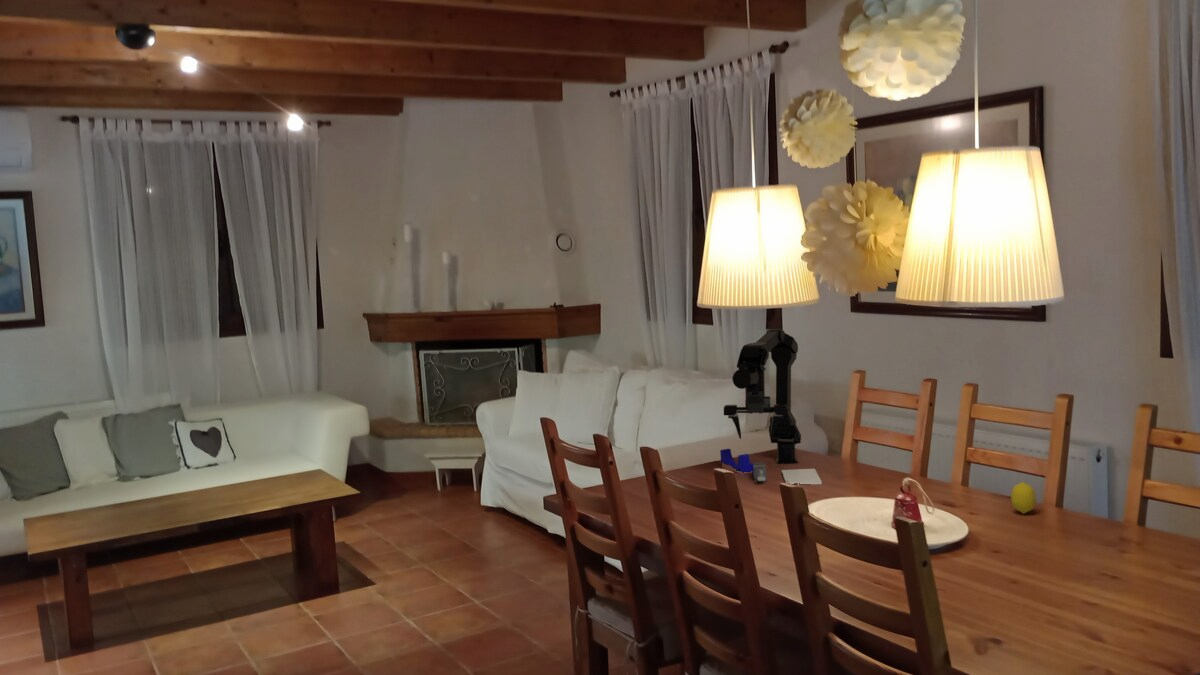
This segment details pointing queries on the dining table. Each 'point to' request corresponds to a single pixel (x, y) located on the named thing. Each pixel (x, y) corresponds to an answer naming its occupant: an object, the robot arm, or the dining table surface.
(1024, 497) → the lemon
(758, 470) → the connector
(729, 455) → the cable clip
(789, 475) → the mat
